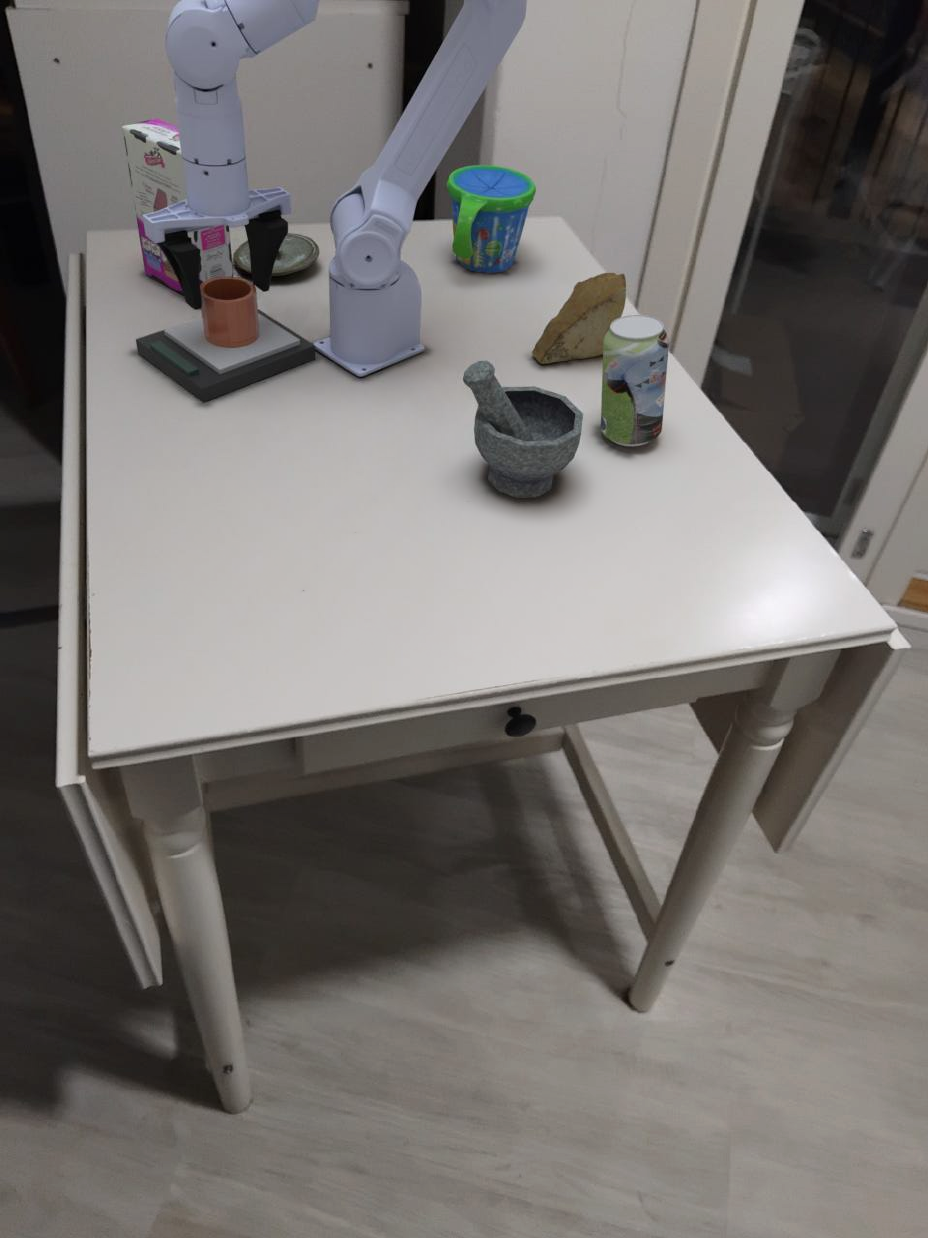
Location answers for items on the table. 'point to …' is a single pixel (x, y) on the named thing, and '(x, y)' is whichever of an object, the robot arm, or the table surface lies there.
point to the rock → (583, 320)
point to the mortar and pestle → (522, 432)
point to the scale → (223, 356)
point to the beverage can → (634, 380)
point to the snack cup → (488, 215)
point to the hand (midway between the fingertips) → (228, 296)
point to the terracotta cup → (229, 311)
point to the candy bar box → (168, 200)
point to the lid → (283, 255)
